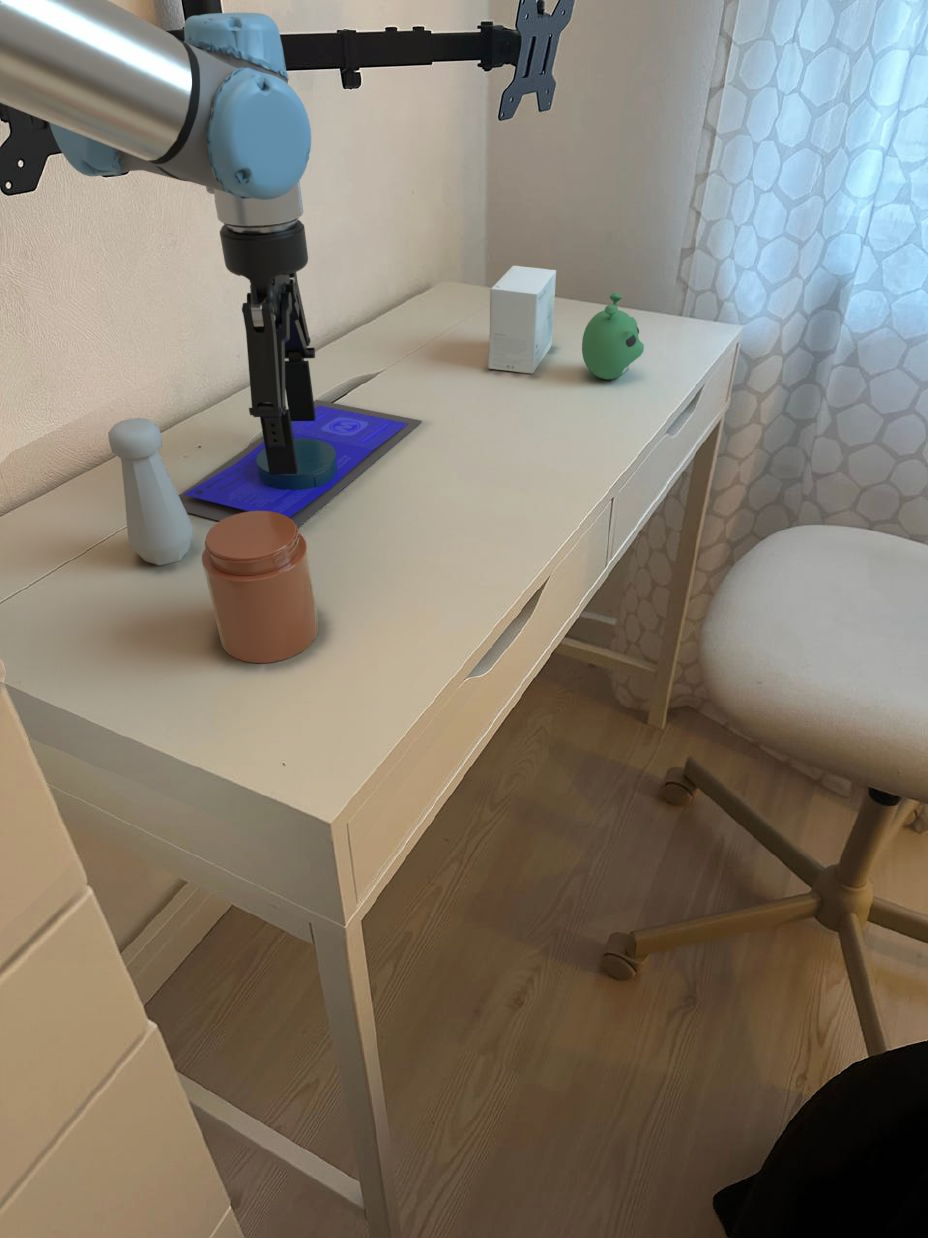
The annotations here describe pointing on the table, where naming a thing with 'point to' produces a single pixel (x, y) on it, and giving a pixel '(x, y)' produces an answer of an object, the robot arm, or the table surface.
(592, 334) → the alien toy
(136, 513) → the salt shaker
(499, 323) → the cosmetics box
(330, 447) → the jar lid
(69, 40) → the robot arm
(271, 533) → the jar
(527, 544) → the table surface
